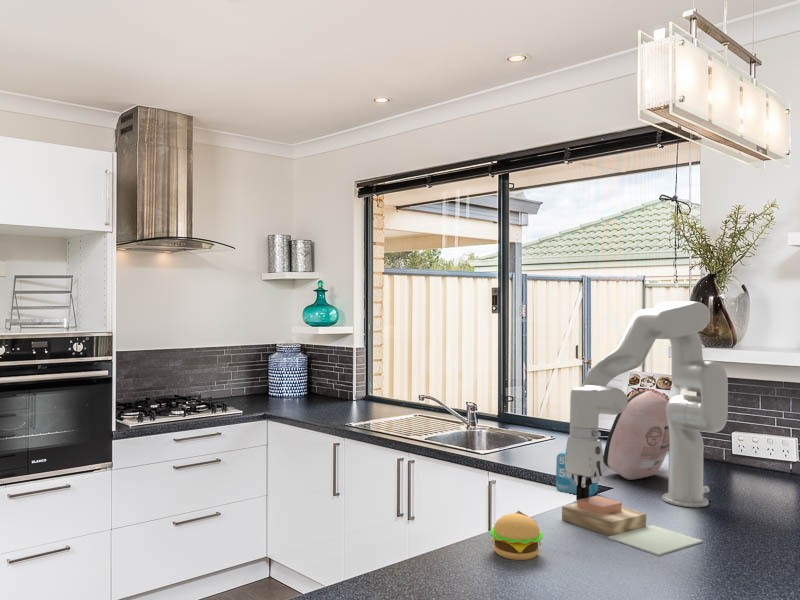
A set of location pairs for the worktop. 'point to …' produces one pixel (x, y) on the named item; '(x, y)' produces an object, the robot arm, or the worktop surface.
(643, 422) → the pink rounded piece
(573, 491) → the data package
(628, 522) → the oak board
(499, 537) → the hamburger
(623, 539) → the sage mat
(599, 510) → the terracotta coaster
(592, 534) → the worktop surface
